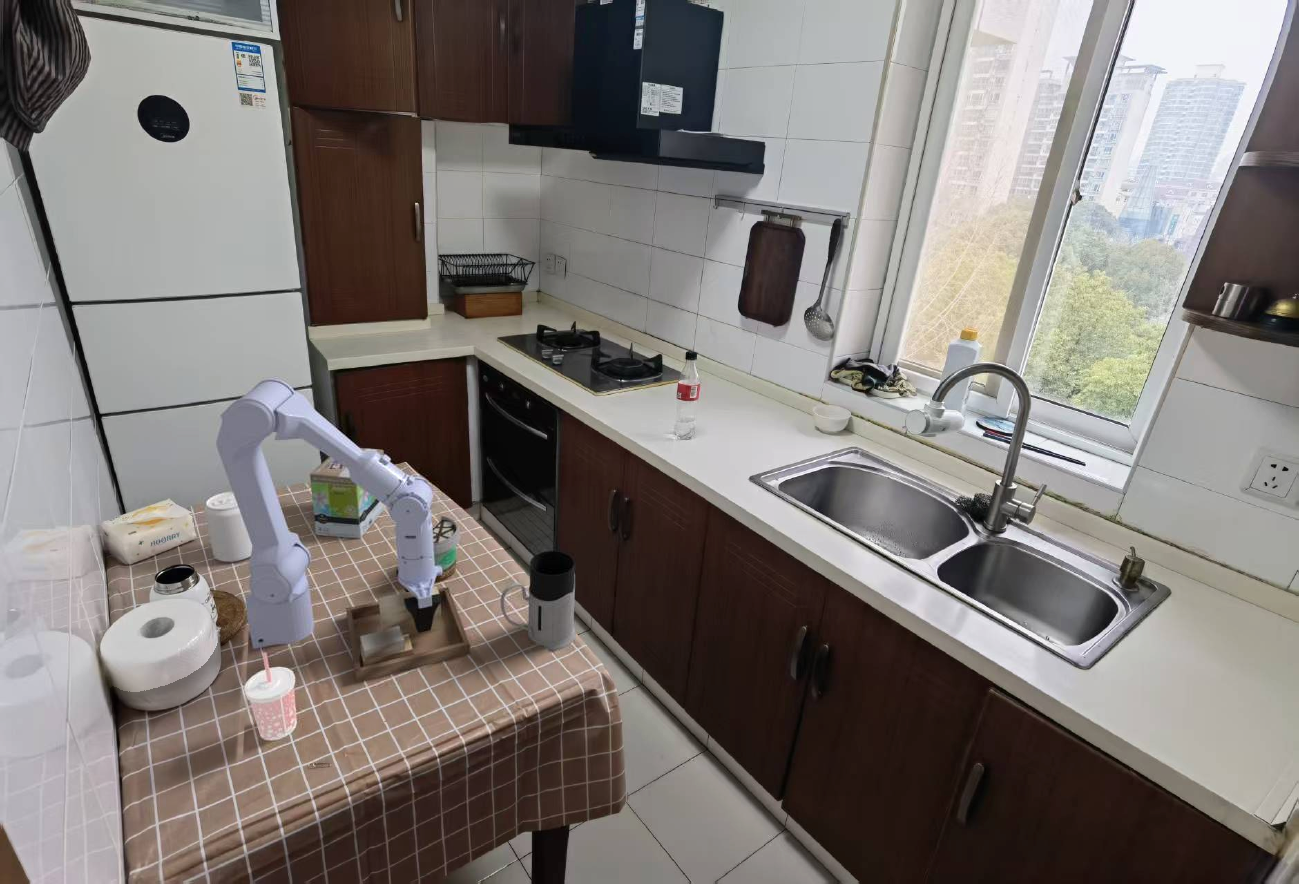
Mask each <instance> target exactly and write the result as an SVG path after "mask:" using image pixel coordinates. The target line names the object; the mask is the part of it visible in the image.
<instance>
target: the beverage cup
mask: <svg viewBox="0 0 1299 884" xmlns="http://www.w3.org/2000/svg"><path fill="white" fill-rule="evenodd" d="M262 658H263V664H264V670H260V671H258V672H256V673H255V674H254V675H252V676H251V677H250V678H249V679H248V680H247V681H246V682H245V684H244V688H243V691H244V693H245V696H246V699H247V700H248V701H249V702H250V707H251V709H252V713H253V716H254V719H255V722H256V726H257V730H258V732H259V735H260V737H261V738H262V739H263V740H266V741H276V740H281V739H284V738H286V737H288V735H290V734H291V733H292V732H293V731H294V730H295V729H296V727H297V723H298V722H297V721H298V720H297V708H296V695H295V684H296V676H295V675H296V674H295V673H294V671H293V670H292V669H290V668H288V667H283V666H276V667H275V666H274V667H270V665H269V660H268V654H267V652H265V651H264V652H262Z"/></svg>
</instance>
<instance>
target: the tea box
mask: <svg viewBox="0 0 1299 884" xmlns="http://www.w3.org/2000/svg"><path fill="white" fill-rule="evenodd" d="M359 448H360V449H361V450H362V451H376V452H378V453H379V454H380V455H382V456H383V455H384V454H385V453H384V450H383V449H379V448H378V449H375V448H363V447H359ZM309 481H310V488H311V499H312V507H313V508H312V509H313V517H314V527H315V535H317V536H325V537H335V538H336V537H337V538H349V539H350V538H351V539H361V538H362V537H363V535H365V533H366V532H367V531H368V529H370V527H371V526H373V525H372V524H374V522H375V521H376V520H378V518H379V516H380V515H381V514H382V513H383V512H384V510H385V509H386V508H387V506H386V505H384V504H383V503H381V502H380V501H379V500H377V499H376V498H375V497H373V496H372V495H370V494H369V493H368V492H366V491H365V490H364V489H362V488H361V487H359V486H358V485H357V484H355V483H354V482H353V481H351V479H350V474H349V470H348V468H347V467H345V466H343V465H342V464H340V463H339V462H337V461H336V460H334V459H333V458H331V457H329V456H328V458H326V459H325V460H324V461H323V462H321V464H320V465H318V466H317V467H315V469H314V470H313V471H311V472H310V473H309Z"/></svg>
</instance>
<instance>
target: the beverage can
mask: <svg viewBox="0 0 1299 884" xmlns="http://www.w3.org/2000/svg"><path fill="white" fill-rule="evenodd" d="M203 510H204V511H203V512H204V517H205V521H206V525H207V529H208V535H209V542H210V545H211V550H212V554H213V557H214V558H215V559H216V560H218V561H221V562H227V563H229V562H239V561H242V560H245V559H248V558H250V556H251V552H252V543H251V541H250V538H249V535H248V532H247V529H246V527H245V524H244V521H243V518H242V516H241V513H240V510H239V507H238V504H237V502H236V499H235V496H234V493H233V491H228V492H227V491H226V492H222V493H218V494H215V495H213V496H211V497H210V498H208V499H207V500H206V503H205V507H204V509H203Z"/></svg>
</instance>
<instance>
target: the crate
mask: <svg viewBox="0 0 1299 884" xmlns="http://www.w3.org/2000/svg"><path fill="white" fill-rule="evenodd" d="M438 591H439V594H440V597H441V620H442V629H440V630H435V631H431V632H427V633H423V634H418V635H414V636H410V641H411V645H412V648H413V655H410V656H406V657H402V658H398V659H394V660H390V661H386V662H382V663H378V664H374V665H370V666H365V667H363V661H362V655H361V647H360V645H361V639H360V636H363V635H367V634H371V633H374V632H378V631H382V629H381V619H380V609H379V601H374V602H369V603H365V604H359V605H354V606H351V607H345V612H346V613H345V614H346V619H347V625H348V632H349V633H348V634H349V639H350V647H351V653H352V660H353V667H354V668H353V669H354V675H355V680H356V681H355V682H356V684H358V683H361V682H365V681H369V680H373V679H377V678H381V677H385V676H389V675H393V674H398V673H400V672H405V671H409V670H413V669H417V668H420V667H425V666H428V665H432V664H436V663H440V662H445V661H448V660H453V659H456V658H461V657H463V656H468V655H470V654H471V644H470V641H469V639H468V635H467V633H466V630H465V628H464V626H463V623H462V620H461V617H460V615H459V612H458V610H457V607H456V604H455V602H454V599H453V596H452V593H451V591H450V588H449V587H448V586H447V587H442V588H438Z"/></svg>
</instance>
